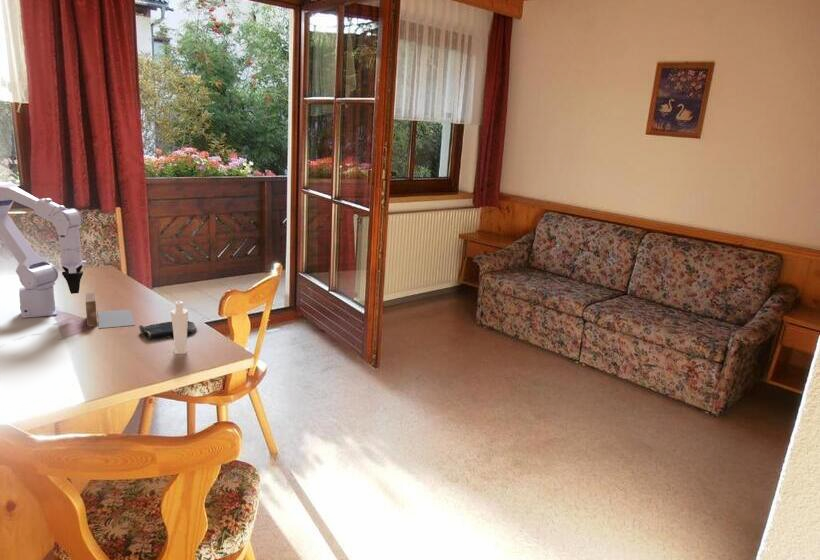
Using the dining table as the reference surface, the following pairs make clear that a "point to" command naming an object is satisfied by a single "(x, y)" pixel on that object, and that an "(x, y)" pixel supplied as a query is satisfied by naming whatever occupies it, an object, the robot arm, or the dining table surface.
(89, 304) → the walnut slab
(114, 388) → the dining table surface
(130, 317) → the mat
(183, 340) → the perfume bottle
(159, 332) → the electronic device
